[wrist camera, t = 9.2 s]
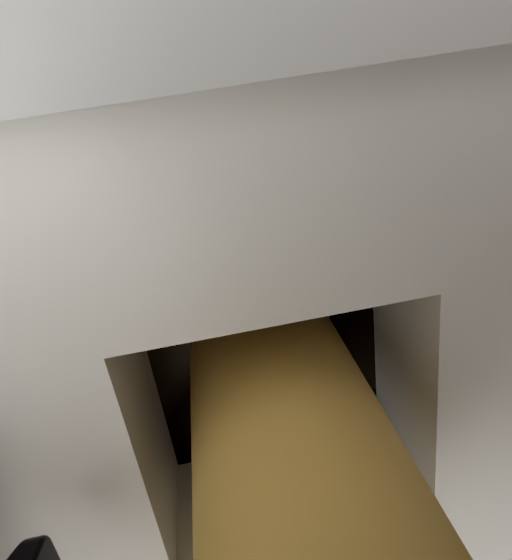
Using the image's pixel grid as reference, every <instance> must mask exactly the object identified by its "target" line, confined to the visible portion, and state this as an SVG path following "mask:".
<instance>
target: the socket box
mask: <svg viewBox="0 0 512 560" xmlns="http://www.w3.org/2000/svg"><path fill="white" fill-rule="evenodd" d="M372 307H373V317H374V344H375V371H376V397H377V399H378V401H379V402H380V404H381V406H382V408H383V409H384V411H385V413H386V414H387V416H388V418H389V419H390V421H391V423H392V424H393V426H394V428H395V429H396V431H397V433H398V434H399V436H400V438H401V439H402V441H403V443H404V445H405V446H406V448H407V450H408V451H409V453H410V455H411V456H412V458H413V460H414V461H415V463H416V465H417V466H418V468H419V470H420V471H421V473H422V475H423V477H424V478H425V480H426V482H427V483H428V485H429V487H430V488H431V490H432V492H433V493H434V495H435V497H436V498H437V500H438V502H439V503H440V505H441V507H442V509H443V510H444V512H445V514H446V515H447V517H448V519H449V520H450V522H451V524H452V525H453V527H454V529H455V530H456V532H457V534H458V535H459V537H460V539H461V541H462V542H463V544H464V546H465V547H466V549H467V551H468V552H469V554H470V556H471V557H472V559H473V560H512V0H0V560H6V559H7V558H8V557H9V555H10V554H11V553H12V552H13V551H14V549H15V548H16V547H17V546H18V544H19V543H20V542H22V541H23V540H25V539H27V538H32V537H36V536H41V535H47V536H49V537H50V539H51V540H52V542H53V544H54V547H55V549H56V551H57V553H58V555H59V557H60V559H61V560H193V525H192V462H190V463H185V464H180V465H178V462H177V459H176V455H175V452H174V448H173V444H172V441H171V437H170V433H169V430H168V426H167V422H166V419H165V415H164V412H163V408H162V404H161V401H160V397H159V393H158V390H157V386H156V383H155V379H154V375H153V372H152V368H151V364H150V361H149V357H148V353H147V350H153V349H158V348H163V347H168V346H174V345H179V344H184V343H189V342H194V341H200V340H205V339H210V338H215V337H221V336H226V335H231V334H236V333H241V332H247V331H252V330H257V329H262V328H268V327H273V326H278V325H283V324H289V323H294V322H299V321H304V320H309V319H315V318H320V317H325V316H330V315H336V314H341V313H346V312H351V311H357V310H362V309H367V308H372Z"/></svg>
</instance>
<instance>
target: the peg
mask: <svg viewBox="0 0 512 560" xmlns="http://www.w3.org/2000/svg"><path fill="white" fill-rule="evenodd" d="M190 400H191V462H192V525H193V560H473V559H472V557H471V556H470V554H469V552H468V551H467V549H466V547H465V546H464V544H463V542H462V541H461V539H460V537H459V535H458V534H457V532H456V530H455V529H454V527H453V525H452V524H451V522H450V520H449V519H448V517H447V515H446V514H445V512H444V510H443V509H442V507H441V505H440V503H439V502H438V500H437V498H436V497H435V495H434V493H433V492H432V490H431V488H430V487H429V485H428V483H427V482H426V480H425V478H424V477H423V475H422V473H421V471H420V470H419V468H418V466H417V465H416V463H415V461H414V460H413V458H412V456H411V455H410V453H409V451H408V450H407V448H406V446H405V445H404V443H403V441H402V439H401V438H400V436H399V434H398V433H397V431H396V429H395V428H394V426H393V424H392V423H391V421H390V419H389V418H388V416H387V414H386V413H385V411H384V409H383V408H382V406H381V404H380V402H379V401H378V399H377V397H376V396H375V394H374V392H373V391H372V389H371V387H370V386H369V384H368V382H367V381H366V379H365V377H364V376H363V374H362V372H361V370H360V369H359V367H358V365H357V364H356V362H355V360H354V359H353V357H352V355H351V354H350V352H349V350H348V349H347V347H346V345H345V344H344V342H343V340H342V338H341V337H340V335H339V333H338V332H337V330H336V328H335V327H334V325H333V323H332V322H331V320H330V318H329V317H328V316H325V317H320V318H315V319H309V320H304V321H299V322H294V323H289V324H283V325H278V326H273V327H268V328H262V329H257V330H252V331H247V332H241V333H236V334H231V335H226V336H221V337H215V338H210V339H205V340H200V341H194V342H192V345H191V351H190Z"/></svg>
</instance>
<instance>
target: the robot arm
mask: <svg viewBox="0 0 512 560" xmlns="http://www.w3.org/2000/svg"><path fill="white" fill-rule="evenodd" d="M6 560H61V559H60V557H59V555H58V553H57V551H56V549H55V547H54V544H53V542H52V540H51V539H50V537H49V536H47V535H41V536H36V537H32V538H27V539H25V540H23V541H22V542H20V543H19V544H18V546H17V547H16V548H15V549H14V551H13V552H12V553H11V554H10V555H9V557H8V558H7V559H6Z"/></svg>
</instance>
